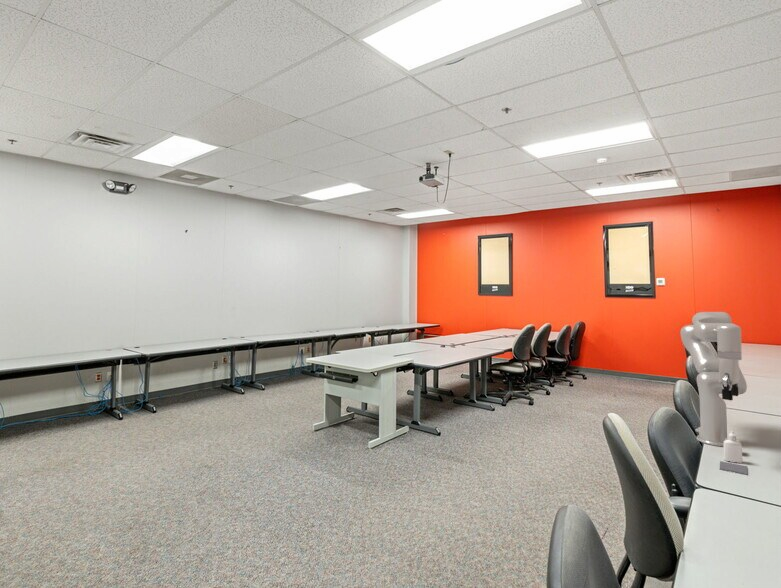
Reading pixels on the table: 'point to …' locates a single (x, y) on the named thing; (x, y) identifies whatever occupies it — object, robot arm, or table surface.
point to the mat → (733, 467)
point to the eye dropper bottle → (732, 449)
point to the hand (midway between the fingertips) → (730, 397)
